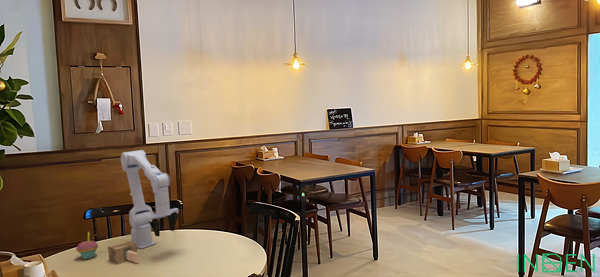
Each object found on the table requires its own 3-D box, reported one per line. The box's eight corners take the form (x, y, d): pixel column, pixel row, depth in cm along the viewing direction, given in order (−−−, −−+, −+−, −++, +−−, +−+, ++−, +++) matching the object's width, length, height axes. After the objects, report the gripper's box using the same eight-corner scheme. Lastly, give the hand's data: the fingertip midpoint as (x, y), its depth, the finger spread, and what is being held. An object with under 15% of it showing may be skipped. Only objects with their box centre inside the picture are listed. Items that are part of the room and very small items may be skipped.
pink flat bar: (119, 257, 191) (118, 248, 190) (122, 256, 192) (121, 248, 191) (136, 262, 183) (135, 254, 183) (139, 261, 184) (138, 253, 184)
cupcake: (103, 254, 196) (100, 228, 195) (87, 262, 189) (84, 234, 187) (89, 252, 200) (86, 226, 198) (73, 259, 192) (70, 232, 191)
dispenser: (109, 260, 189) (107, 246, 188) (128, 253, 196) (127, 240, 195) (119, 264, 184) (117, 249, 183) (138, 256, 191) (137, 243, 191)
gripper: (153, 207, 181) (156, 240, 182) (182, 199, 192) (184, 229, 194) (143, 205, 185) (146, 237, 186) (171, 197, 196) (174, 227, 198)
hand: (164, 233), depth 190 cm, fingers open, 7 cm apart
